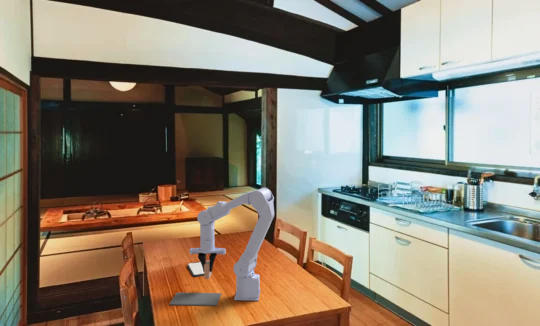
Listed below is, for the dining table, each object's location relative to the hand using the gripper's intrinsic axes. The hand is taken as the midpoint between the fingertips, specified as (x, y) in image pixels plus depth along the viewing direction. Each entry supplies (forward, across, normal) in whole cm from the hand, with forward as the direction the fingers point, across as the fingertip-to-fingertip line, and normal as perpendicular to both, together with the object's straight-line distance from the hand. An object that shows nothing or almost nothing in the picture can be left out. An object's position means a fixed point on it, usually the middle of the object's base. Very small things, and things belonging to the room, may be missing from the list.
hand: (207, 271), depth 149 cm
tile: (+2, 0, 0) cm, 2 cm away
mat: (+8, +3, +8) cm, 12 cm away
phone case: (+9, +9, -23) cm, 26 cm away
